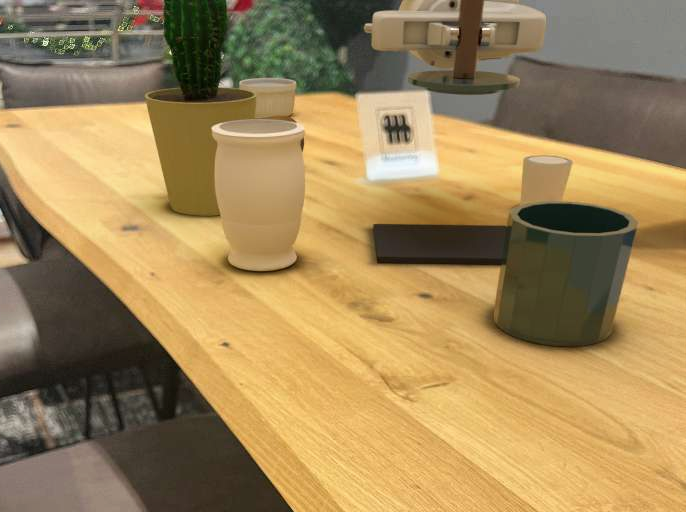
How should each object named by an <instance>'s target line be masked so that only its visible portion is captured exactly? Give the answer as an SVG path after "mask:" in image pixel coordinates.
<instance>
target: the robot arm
mask: <svg viewBox="0 0 686 512" xmlns="http://www.w3.org/2000/svg"><path fill="white" fill-rule="evenodd" d="M519 1H520V0H485V1H484V9H483V18H482V26H481V34H480V43H479V51H478V59H477V61H487V60H499V59H501V60H502V59H508V58H510V57H511V56H512V54H527V53H528V54H530V53H531V54H532V53H537V52H539V51H541V50H542V48H543V45H544V40H545V36H546V35H545V34H546V30H547V29H546V28H547V16H546V15H545V13H544V12H542V11H540V10H538V9H536V8H533V7H531V6H529V5H528V6H527V5H523V4H520V2H519ZM459 7H460V0H402V1H401V3H400V6H399V8H398V10H381V11H375V12H374V13H373V15H372V22H371V23H365V24H364V26H363V29H364V32H365V33H367V34H371V43H370V44H371V48H372V49H373V50H376V51H379V52H380V51H381V52H382V51H383V52H409V53H411V54H412V55H413V56H415V57H417V58H418V59H419V60H421V61H422V62H424V63H425V64H427V65H428V66H430V67H432V68H435V69H440V70H448V69H453V65H454V55H455V46H457V45H458V35H459V27H457V26H458V17H459Z"/></svg>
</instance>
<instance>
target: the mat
mask: <svg viewBox="0 0 686 512" xmlns="http://www.w3.org/2000/svg"><path fill="white" fill-rule="evenodd" d="M506 228H507V225H494V224H493V225H491V224H489V225H488V224H487V225H486V224H485V225H484V224H483V225H482V224H427V223H425V224H423V223H422V224H419V223H417V224H416V223H415V224H414V223H413V224H412V223H373V224H372V231H373V239H374V247H375V255H376V262H377V264H428V265H429V264H430V265H431V264H432V265H434V264H435V265H436V264H437V265H439V264H440V265H493V266H494V265H495V266H496V265H498V266H499V265H500V266H501V261H502V254H503V248H504V241H505V235H506Z"/></svg>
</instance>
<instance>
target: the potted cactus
mask: <svg viewBox="0 0 686 512" xmlns="http://www.w3.org/2000/svg"><path fill="white" fill-rule="evenodd" d="M159 1H161V2H163V4H164V5H157V6H156V7H157V8H161V9H159V11H160V12H161V14H162V17H163V20H161V19H158V18H157V20H158V21H160V22H162V24H161V25H162V26H163V27H162V30H163V31H162V33H163V35H161V38H160V40H162V39H163V40H162V41H161V43H162V44H163V47H164V48H166V47H167V46H168V48H169V51H170V53H171V54H170V57H171V59H168V60H166V61H171V62H172V65H169V68H170V67H173V69H172V72H173V74H171V77H174V76H175V77H174V78H173V80H175V79H177V80H176V81H177V83H178V84H177V87H175V88H173V87H172V88H166V89H165V88H163V89H158V90H153V91H149V92H147V93H145V94H144V98H145V101H146V107H147V108H146V109H147V113H148V117H149V121H150V125H151V129H152V134H153V137H154V142H155V146H156V150H157V154H158V160H159V165H160V167H161V172H162V176H163V181H164V183H165V184H164V185H165V189H166V193H167V197H168V202H169V205H170V207H171V209H172V210H173V211H174V212H175V213H176V212H177V213H179V214H183V215H190V216H201V217H202V216H205V217H206V216H207V217H208V216H221V214H220V211H219V207H218V203H217V198H216V191H215V178H214V171H215V156H216V150H217V146H218V144H217V141H216V140H215V139H214V138H213V136H212V127H213V126H215V125H217V124H220V123H224V122H230V121H236V120H248V119H255V110H256V96H257V93H255V92H253V91H249V90H244V89H239V88H237V87H226V86H224V85H225V84H224V83H223V80H222V79H221V76H222V65H225V62H224V61H223V60H224V59H223V57H222V56H224V53H222V46H223V47H224V48H223V51H226V50H225V49H227V50H229V51H230V49H229V48H228V47H226V45H227V44H228V43H227V42H226V41H227V39H228V38H229V36H228V35H229V34H230V33H232V34H234V31H230V30H229V31H228V22H230V19H228V17H229V16H232V15H233V13H228V5H227V1H228V0H159ZM164 40H165V41H164ZM165 42H166V43H165ZM224 42H225V43H224ZM162 50H163V48H161V49H160V51H162ZM225 61H228V60H226V59H225ZM221 63H222V64H221ZM223 70H225V71H226V69H225V68H223Z"/></svg>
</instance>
